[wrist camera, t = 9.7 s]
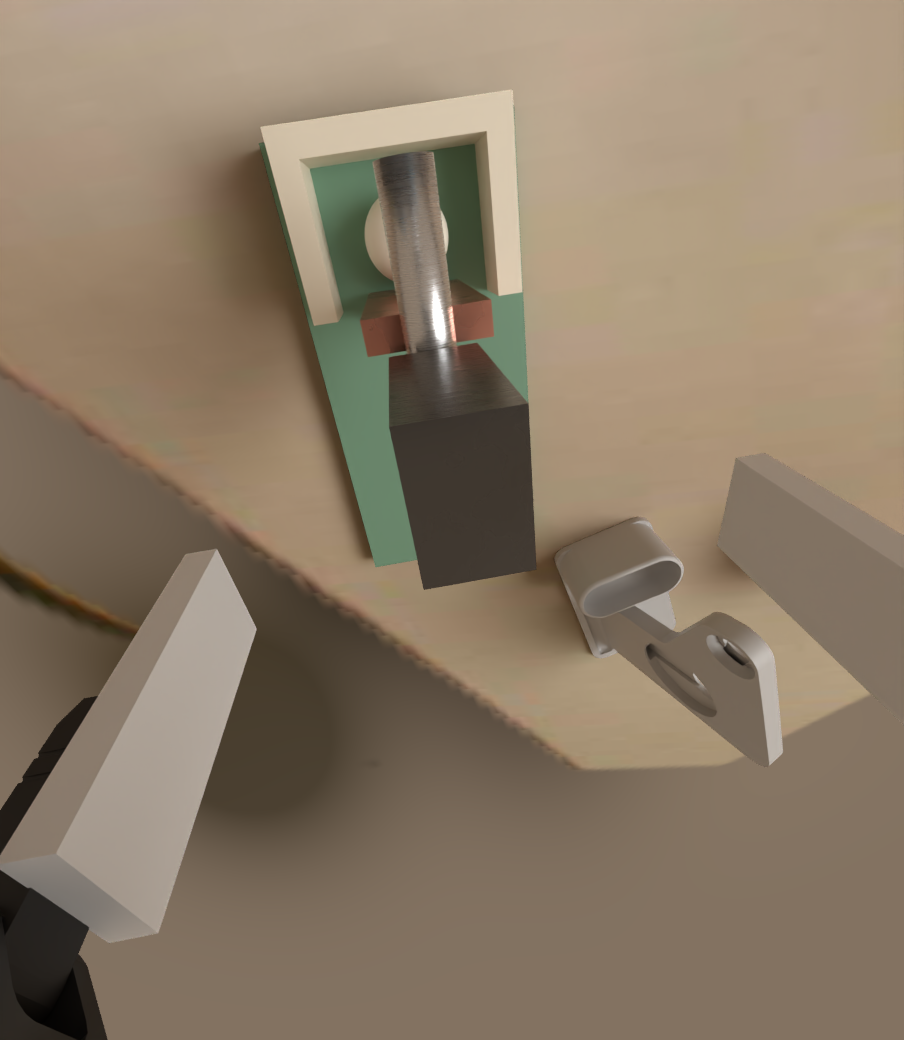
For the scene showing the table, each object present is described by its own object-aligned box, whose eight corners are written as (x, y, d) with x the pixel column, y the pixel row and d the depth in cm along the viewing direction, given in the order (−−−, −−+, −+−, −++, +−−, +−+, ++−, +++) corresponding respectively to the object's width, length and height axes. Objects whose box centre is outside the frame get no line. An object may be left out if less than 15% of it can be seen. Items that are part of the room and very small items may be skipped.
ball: (380, 172, 24) (399, 280, 26) (458, 174, 27) (470, 273, 28) (342, 201, 28) (361, 293, 30) (413, 201, 30) (426, 286, 32)
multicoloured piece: (348, 193, 28) (270, 108, 10) (446, 178, 29) (560, 65, 10) (391, 402, 35) (395, 594, 16) (470, 389, 35) (564, 564, 17)
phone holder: (549, 549, 47) (628, 703, 31) (647, 508, 45) (779, 646, 30) (593, 656, 56) (671, 816, 40) (676, 624, 54) (789, 776, 39)
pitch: (264, 147, 28) (240, 129, 24) (508, 110, 29) (531, 86, 24) (375, 557, 45) (374, 595, 40) (530, 530, 45) (547, 564, 40)
